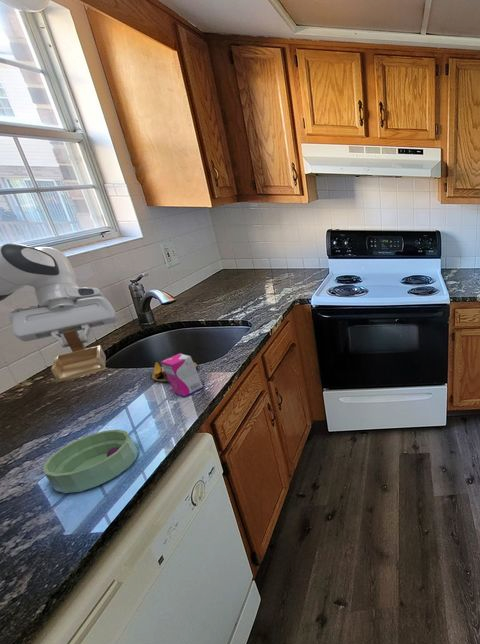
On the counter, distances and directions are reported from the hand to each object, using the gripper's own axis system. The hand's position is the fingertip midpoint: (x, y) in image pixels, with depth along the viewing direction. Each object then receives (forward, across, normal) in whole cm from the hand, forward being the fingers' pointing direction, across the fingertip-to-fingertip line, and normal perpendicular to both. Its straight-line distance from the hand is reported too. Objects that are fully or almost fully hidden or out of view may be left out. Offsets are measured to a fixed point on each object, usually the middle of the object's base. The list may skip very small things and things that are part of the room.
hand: (75, 343), depth 98 cm
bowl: (+37, -1, -9) cm, 38 cm away
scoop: (+7, 0, +1) cm, 7 cm away
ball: (+35, +2, -10) cm, 37 cm away
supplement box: (+20, +19, +9) cm, 29 cm away
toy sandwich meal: (+9, +18, +20) cm, 28 cm away
